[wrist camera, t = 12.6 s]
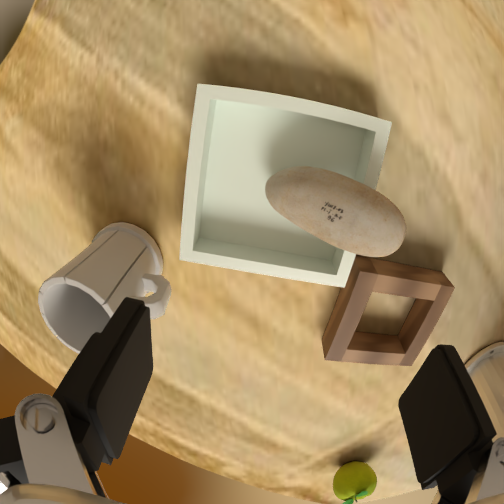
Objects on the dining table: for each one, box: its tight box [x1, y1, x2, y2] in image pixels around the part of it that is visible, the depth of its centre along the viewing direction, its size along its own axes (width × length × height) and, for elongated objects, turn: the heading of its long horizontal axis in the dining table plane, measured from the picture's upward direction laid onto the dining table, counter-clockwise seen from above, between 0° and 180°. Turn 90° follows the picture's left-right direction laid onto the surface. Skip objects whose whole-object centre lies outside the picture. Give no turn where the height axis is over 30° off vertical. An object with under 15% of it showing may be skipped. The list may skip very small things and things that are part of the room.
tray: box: [179, 84, 392, 288], centre depth 27 cm, size 16×16×4 cm
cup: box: [38, 222, 171, 354], centre depth 28 cm, size 10×9×12 cm
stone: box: [265, 166, 406, 257], centre depth 25 cm, size 6×6×12 cm
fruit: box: [333, 461, 377, 504], centre depth 49 cm, size 9×9×10 cm
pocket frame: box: [322, 255, 455, 366], centre depth 33 cm, size 12×12×4 cm
